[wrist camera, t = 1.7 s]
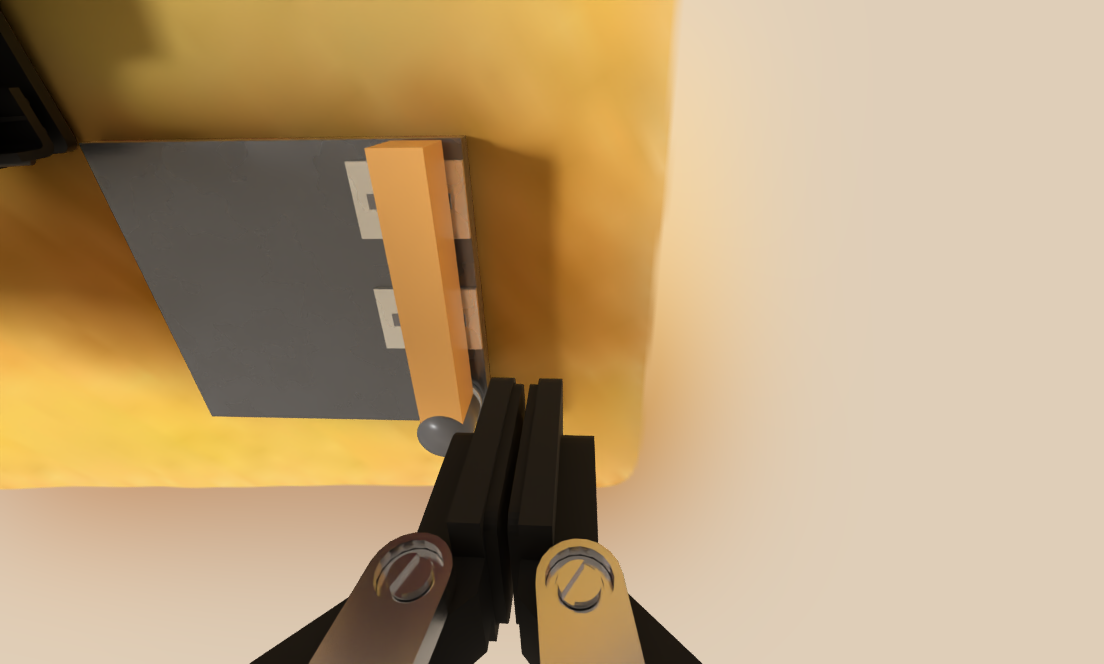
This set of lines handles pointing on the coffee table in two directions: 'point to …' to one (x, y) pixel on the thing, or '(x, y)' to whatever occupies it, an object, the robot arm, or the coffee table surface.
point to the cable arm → (425, 284)
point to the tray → (281, 269)
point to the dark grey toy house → (26, 109)
